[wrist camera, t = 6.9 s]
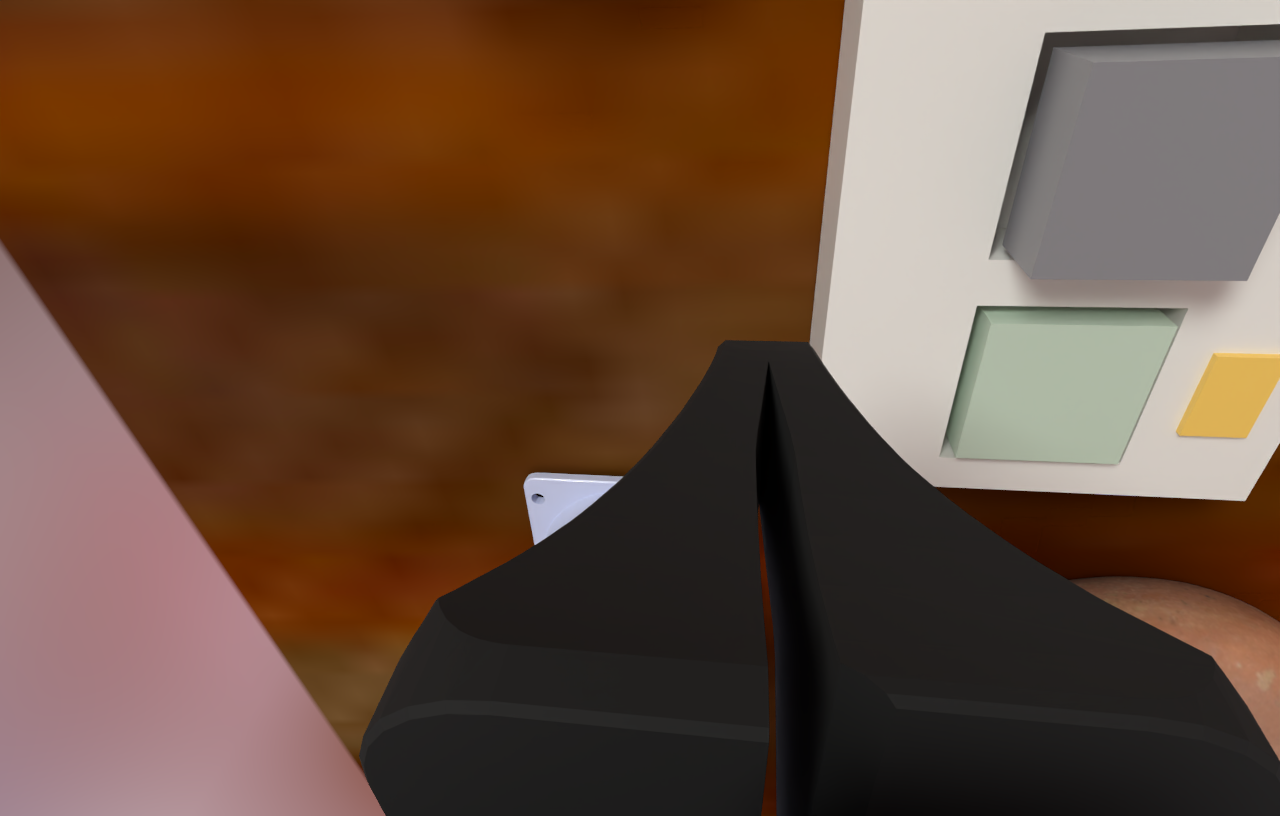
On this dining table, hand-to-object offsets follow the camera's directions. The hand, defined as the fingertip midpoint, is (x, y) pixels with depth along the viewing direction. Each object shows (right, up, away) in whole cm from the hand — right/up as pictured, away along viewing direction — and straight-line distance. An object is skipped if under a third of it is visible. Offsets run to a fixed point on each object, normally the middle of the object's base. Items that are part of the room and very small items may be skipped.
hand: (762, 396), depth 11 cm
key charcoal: (+9, +5, +4) cm, 11 cm away
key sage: (+9, +1, +9) cm, 13 cm away
